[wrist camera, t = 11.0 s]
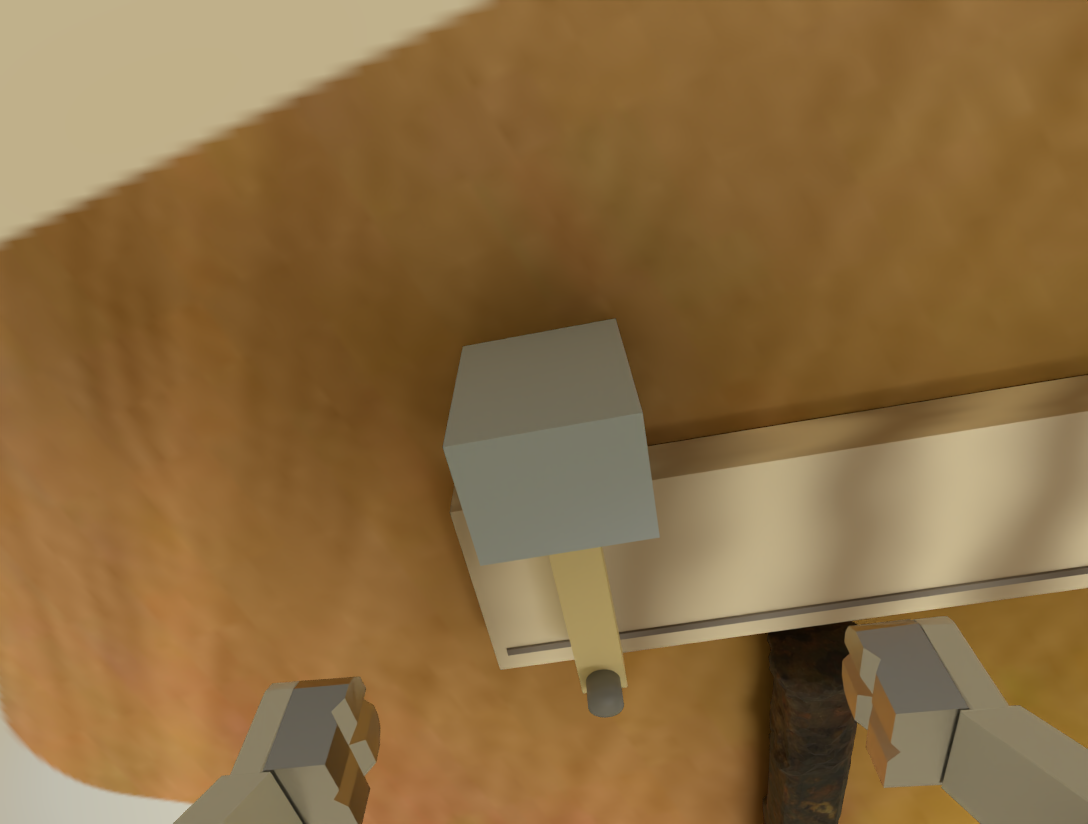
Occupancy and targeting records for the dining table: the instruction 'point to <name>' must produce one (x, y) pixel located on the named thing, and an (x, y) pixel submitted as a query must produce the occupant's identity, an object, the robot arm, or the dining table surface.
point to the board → (830, 525)
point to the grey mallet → (556, 474)
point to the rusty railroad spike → (808, 726)
